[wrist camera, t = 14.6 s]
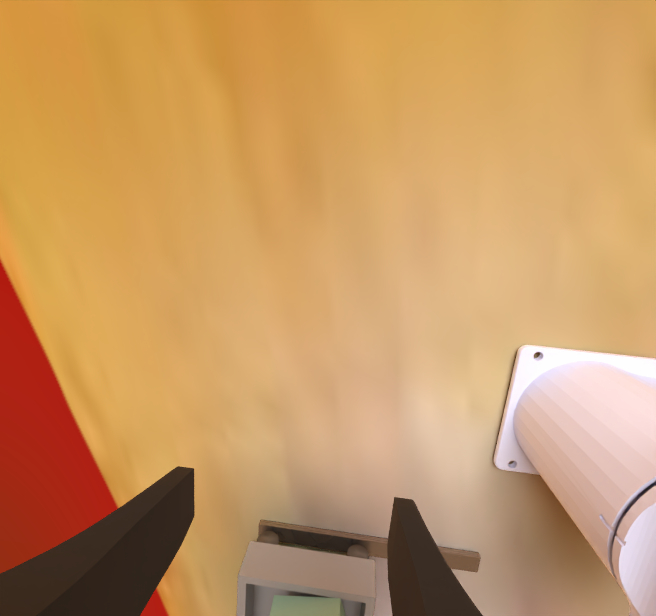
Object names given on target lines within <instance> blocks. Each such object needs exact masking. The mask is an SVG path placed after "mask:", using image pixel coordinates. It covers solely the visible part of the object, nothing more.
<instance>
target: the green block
mask: <svg viewBox="0 0 656 616" xmlns="http://www.w3.org/2000/svg"><path fill="white" fill-rule="evenodd" d="M270 616H346V615H345V611H344V608H343V605H342V601H341V598H325V597H303V596H280V595H274V598H273V602H272V607H271V612H270Z"/></svg>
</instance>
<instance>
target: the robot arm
mask: <svg viewBox="0 0 656 616" xmlns="http://www.w3.org/2000/svg"><path fill="white" fill-rule="evenodd" d="M536 352H540V355H539V357H537V358H533V356H534V354H535V353H536ZM510 461H514V462H513V463H512V464H508V463H509V462H510ZM494 463H495V465H496V467H497V468H499V469H501V470H507V471H514V472H522V473H529V474H537V475H541V477H542V478H543V480H544V481H545V482H546V484H547V485H548V487H549V488H550V489H551V491H552V492H553V494H554V495H555V496H556V498H557V499H558V501H559V502H560V503H561V505H562V506H563V508H564V509H565V510H566V512H567V513H568V515H569V516H570V517H571V519H572V520H573V522H574V523H575V524H576V526H577V527H578V529H579V530H580V531H581V533H582V534H583V536H584V537H585V538H586V540H587V541H588V543H589V544H590V545H591V547H592V548H593V550H594V551H595V552H596V554H597V555H598V557H599V558H600V559H601V561H602V562H603V564H604V565H605V566H606V568H607V569H608V571H609V572H610V573H611V575H612V576H613V578H614V579H615V580H616V582H617V583H618V585H619V586H620V587H621V589H622V590H623V591H624V593H625V595H626V597H627V598H628V601H629V604H630V613H629V616H656V358H647V357H637V356H628V355H619V354H609V353H600V352H591V351H581V350H572V349H563V348H553V347H544V346H534V345H524V346H521V347H520V348H519V349H518V352H517V356H516V360H515V365H514V369H513V373H512V378H511V382H510V387H509V391H508V396H507V400H506V405H505V409H504V414H503V418H502V423H501V427H500V432H499V436H498V441H497V445H496V450H495V454H494ZM193 518H194V469H193V468H186V467H179V466H178V467H176V468H175V469H173V470H172V471H171V472H169V473H168V474H166V475H165V476H164V477H162V478H161V479H160V480H158V481H157V482H155V483H154V484H153V485H151V486H150V487H149V488H147V489H146V490H144V491H143V492H142V493H140V494H139V495H137V496H136V497H134V498H133V499H132V500H130V501H129V502H127V503H126V504H125V505H123V506H122V507H120V508H118V509H117V510H115V511H114V512H112V513H111V514H109V515H108V516H106V517H105V518H103V519H102V520H100V521H99V522H97V523H96V524H94V525H92V526H91V527H89V528H87V529H86V530H84V531H83V532H81V533H79V534H77V535H76V536H74V537H72V538H70V539H69V540H67V541H65V542H63V543H61V544H60V545H58V546H56V547H54V548H52V549H50V550H48V551H46V552H44V553H43V554H40V555H38V556H36V557H34V558H32V559H30V560H28V561H26V562H24V563H22V564H20V565H18V566H16V567H14V568H12V569H10V570H8V571H6V572H3V573H1V574H0V616H140V614H141V613H142V611H143V609H144V608H145V606H146V604H147V602H148V601H149V599H150V597H151V596H152V594H153V592H154V591H155V589H156V587H157V586H158V584H159V582H160V581H161V579H162V577H163V576H164V574H165V572H166V571H167V569H168V567H169V565H170V564H171V562H172V560H173V559H174V557H175V555H176V553H177V552H178V550H179V548H180V546H181V544H182V542H183V540H184V538H185V536H186V534H187V531H188V529H189V527H190V525H191V522H192V520H193ZM387 557H388V581H389V590H390V598H391V606H392V613H393V616H482V614H481V613H480V611H479V610H478V609H477V607H476V606H475V605H474V603H473V602H472V600H471V599H470V598H469V596H468V595H467V593H466V592H465V590H464V589H463V587H462V586H461V584H460V583H459V581H458V580H457V578H456V577H455V575H454V574H453V572H452V570H451V569H450V567H449V566H448V564H447V562H446V561H445V559H444V557H443V555H442V554H441V552H440V550H439V549H438V547H437V545H436V543H435V542H434V540H433V538H432V536H431V534H430V532H429V531H428V529H427V527H426V525H425V523H424V521H423V519H422V517H421V515H420V513H419V511H418V509H417V506H416V504H415V502H414V501H413V500H411V499H404V498H397V497H394V504H393V510H392V517H391V523H390V530H389V537H388V543H387Z"/></svg>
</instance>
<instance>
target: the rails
mask: <svg viewBox="0 0 656 616" xmlns="http://www.w3.org/2000/svg"><path fill="white" fill-rule="evenodd" d="M265 531H272V532H274V533H276V534H277V536H278V538H279V541H278V545H281V546H287V547H294V548H300V549H306V550H313V551H319V552H326V553H332V554H338V555H345V556H347V553H345V552H347V551H348V549H349V547H350V546H352V545H355V544H358V545H361V546H363V547H365V548H366V549H367V551H368V554H369V556H375V557H381V558H388V557H387V543H388V539H385V538H379V537H372V536H366V535H359V534H352V533H346V532H339V531H332V530H326V529H319V528H313V527H306V526H299V525H293V524H286V523H279V522H273V521H266V520H260V523H259V535H260V534H261V533H263V532H265ZM280 542H285V543H280ZM287 543H291V544H287ZM293 544H298V545H293ZM300 545H304V546H300ZM306 546H310V547H306ZM313 547H317V548H313ZM437 547H438V546H437ZM319 548H323V549H319ZM325 549H330V550H325ZM438 549H439V550H440V552H441V554H442V555H443V557H444V559H445V561H446V562H447V564H448V566H449V567H450V568H452V569H459V570H465V571H472V572H477V571H478V567H479V562H480V555H479V553H478V552H472V551H465V550H458V549H452V548H445V547H438ZM332 550H336V551H332ZM338 551H343V552H338Z"/></svg>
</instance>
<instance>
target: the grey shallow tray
mask: <svg viewBox="0 0 656 616" xmlns="http://www.w3.org/2000/svg"><path fill="white" fill-rule="evenodd" d="M278 541H279V538H278V536H277V534H276V533H274V532H272V531H265V532H263V533H261V534H260V535H259V537H258V539H257V542H255V541H250V543H249V546H248V548H247V551H246V554H245V557H244V560H243V562H242V565H241V568H240V571H239V574H238V591H237V616H270V612H271V607H272V602H273V598H274V595H280V596H303V597H325V598H341V601H342V605H343V608H344V611H345V615H346V616H373V615H374V608H375V601H376V584H375V560H371V559H368V558H369V554H368V551H367V549H366V548H365V547H363V546H361V545H358V544H355V545H352V546H350V547H349V549H348V551H347V556H345V555H338V554H332V553H326V552H319V551H313V550H306V549H300V548H294V547H287V546H281V545H278Z"/></svg>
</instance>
